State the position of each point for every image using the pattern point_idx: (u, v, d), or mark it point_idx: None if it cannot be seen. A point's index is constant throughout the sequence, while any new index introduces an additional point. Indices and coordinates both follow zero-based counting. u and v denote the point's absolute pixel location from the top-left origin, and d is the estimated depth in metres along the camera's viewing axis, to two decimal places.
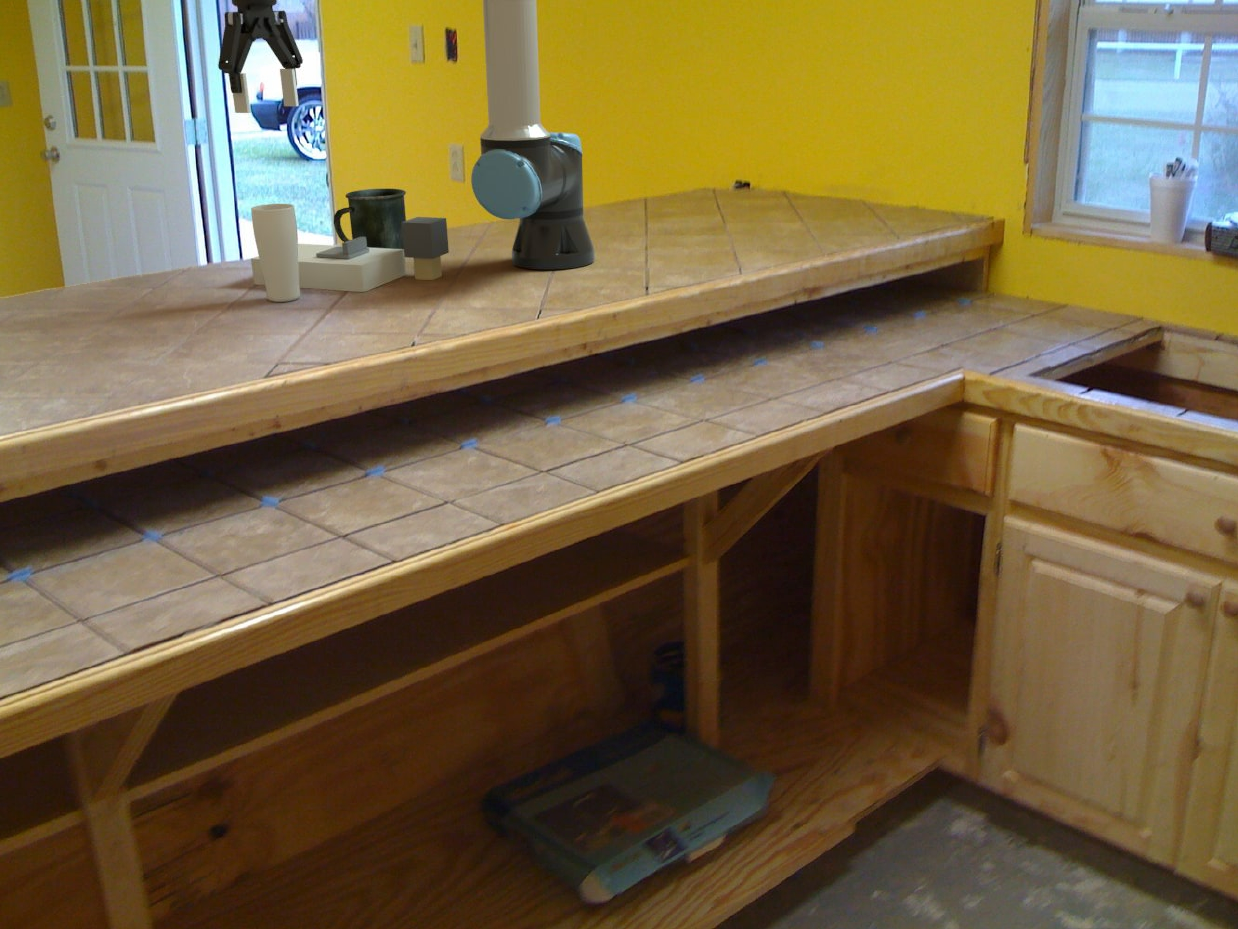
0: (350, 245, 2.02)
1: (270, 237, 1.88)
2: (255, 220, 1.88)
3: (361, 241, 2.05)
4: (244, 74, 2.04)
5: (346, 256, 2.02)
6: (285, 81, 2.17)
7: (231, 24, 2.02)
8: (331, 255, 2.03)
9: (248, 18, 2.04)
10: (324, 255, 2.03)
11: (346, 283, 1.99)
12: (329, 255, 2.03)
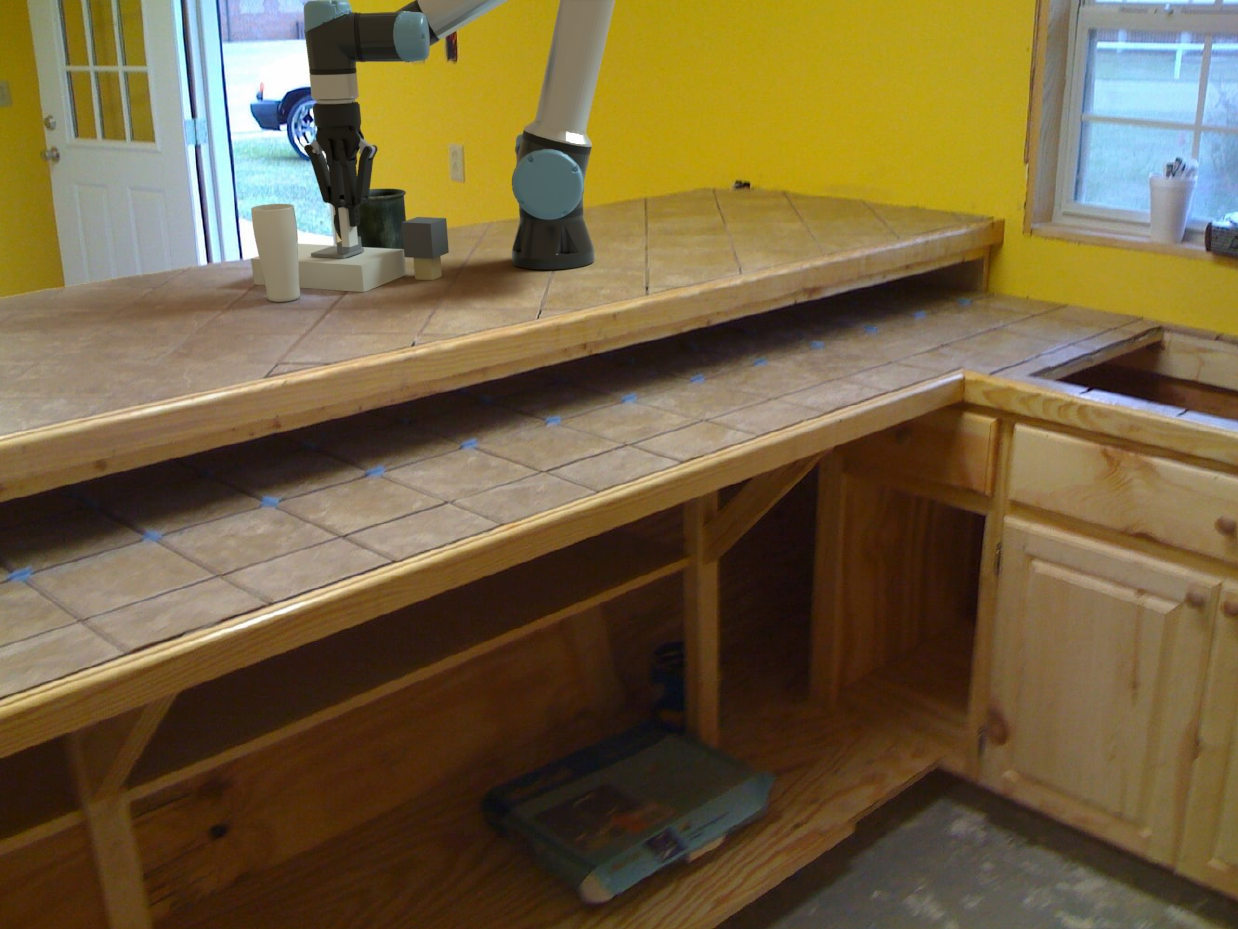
0: None
1: (270, 237, 1.88)
2: (255, 220, 1.88)
3: None
4: (340, 209, 1.99)
5: (341, 256, 2.02)
6: None
7: None
8: (326, 255, 2.03)
9: (319, 140, 1.96)
10: (319, 255, 2.04)
11: (346, 283, 1.99)
12: (324, 255, 2.03)
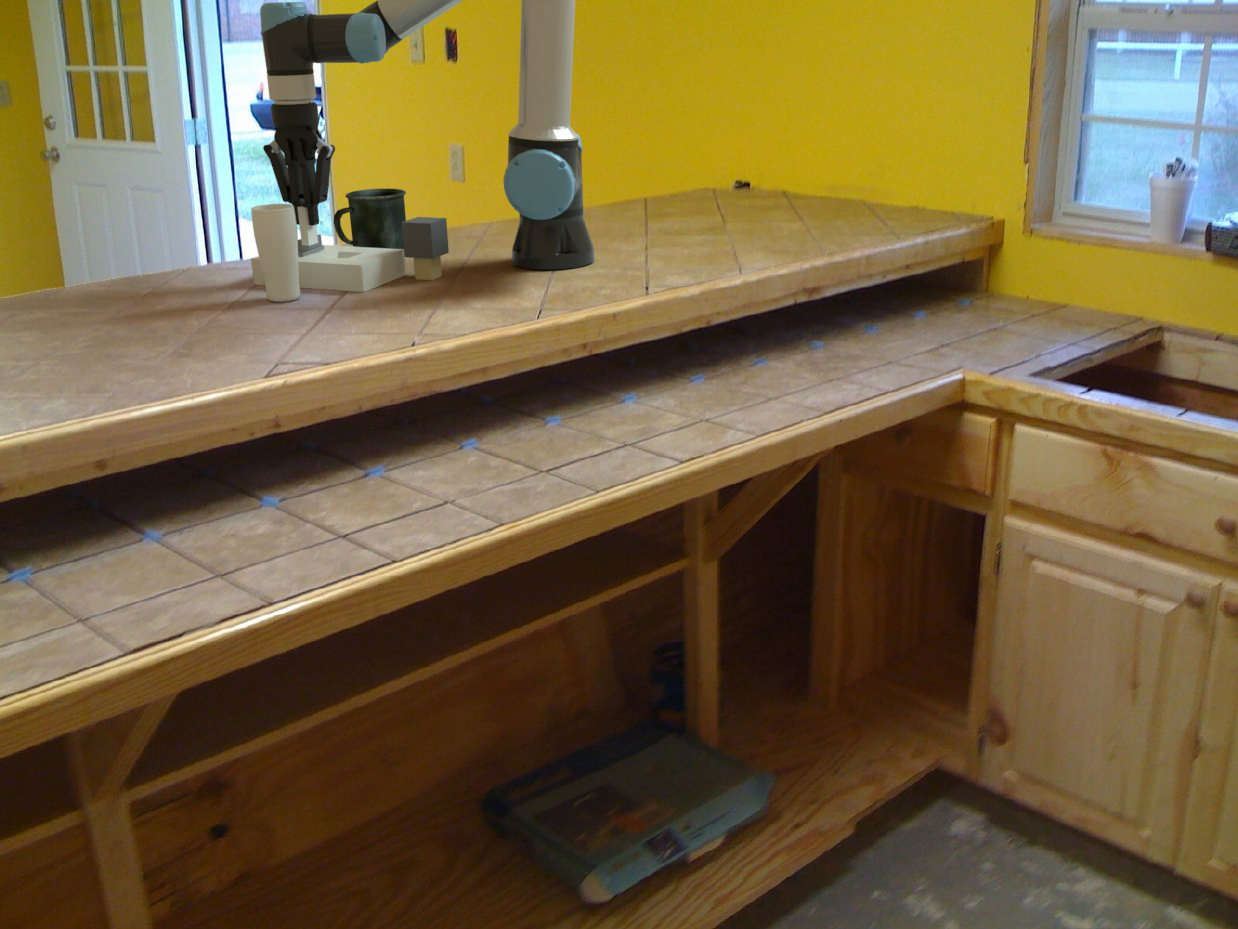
0: None
1: (270, 237, 1.88)
2: (255, 220, 1.88)
3: None
4: (299, 208, 2.02)
5: (300, 253, 2.05)
6: None
7: None
8: None
9: (277, 140, 1.99)
10: None
11: (346, 283, 1.99)
12: None
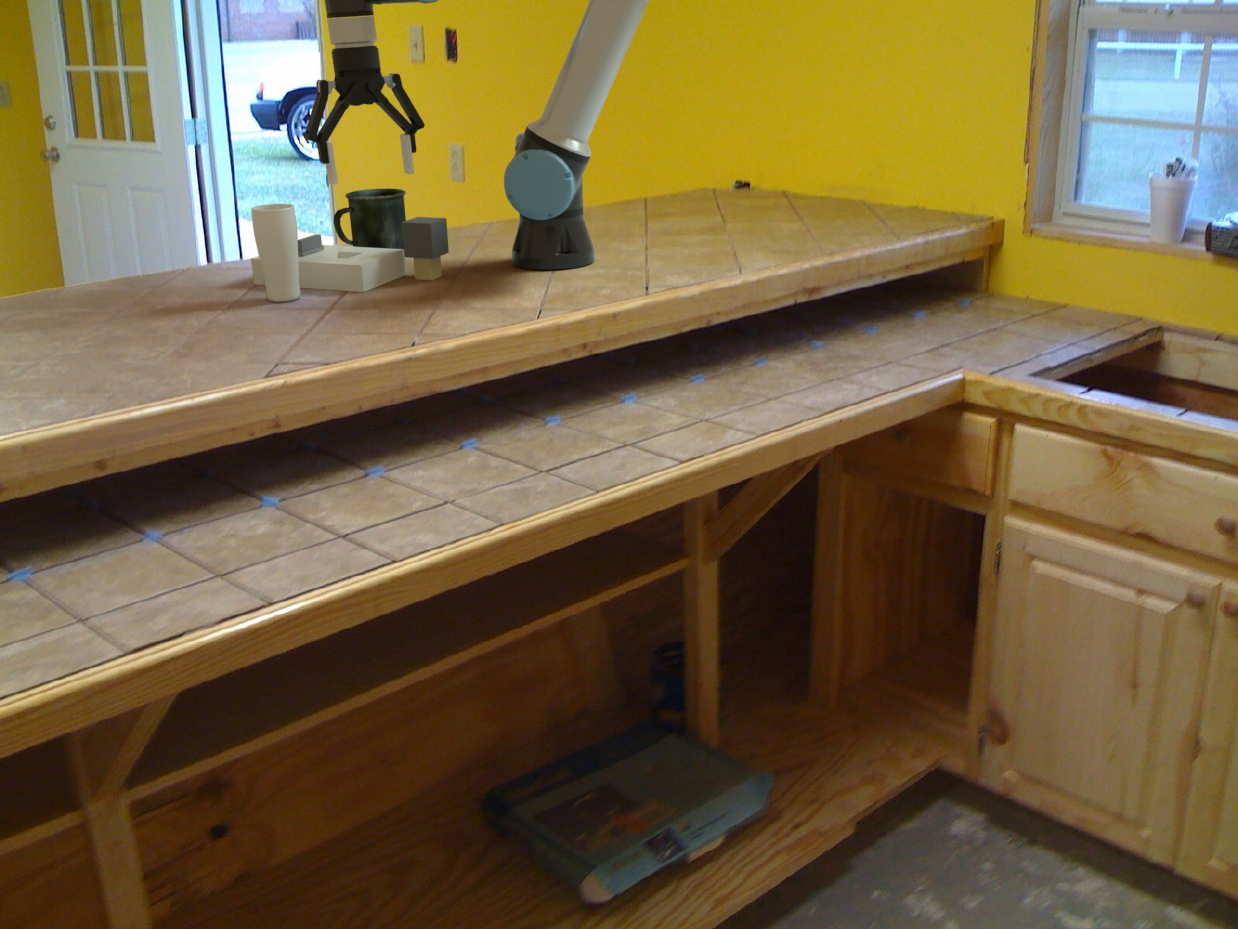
0: (304, 242, 2.05)
1: (270, 237, 1.88)
2: (255, 220, 1.88)
3: (316, 239, 2.08)
4: (330, 144, 1.95)
5: (300, 253, 2.05)
6: (403, 147, 2.03)
7: None
8: None
9: (341, 85, 1.93)
10: None
11: (346, 283, 1.99)
12: None
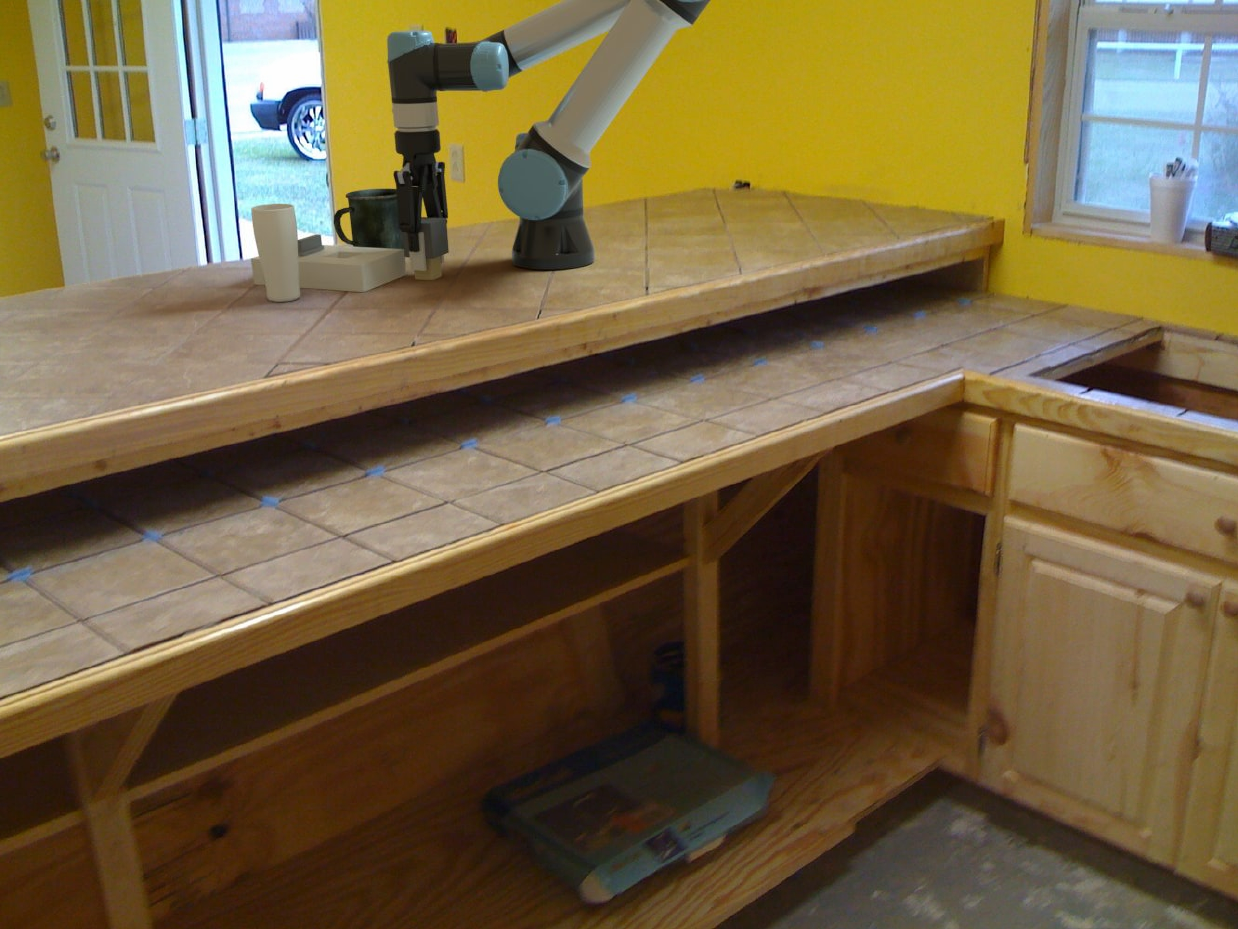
0: (304, 242, 2.05)
1: (270, 237, 1.88)
2: (255, 220, 1.88)
3: (316, 239, 2.08)
4: (422, 233, 2.02)
5: (300, 253, 2.05)
6: None
7: (402, 183, 1.97)
8: None
9: (415, 168, 1.98)
10: None
11: (346, 283, 1.99)
12: None
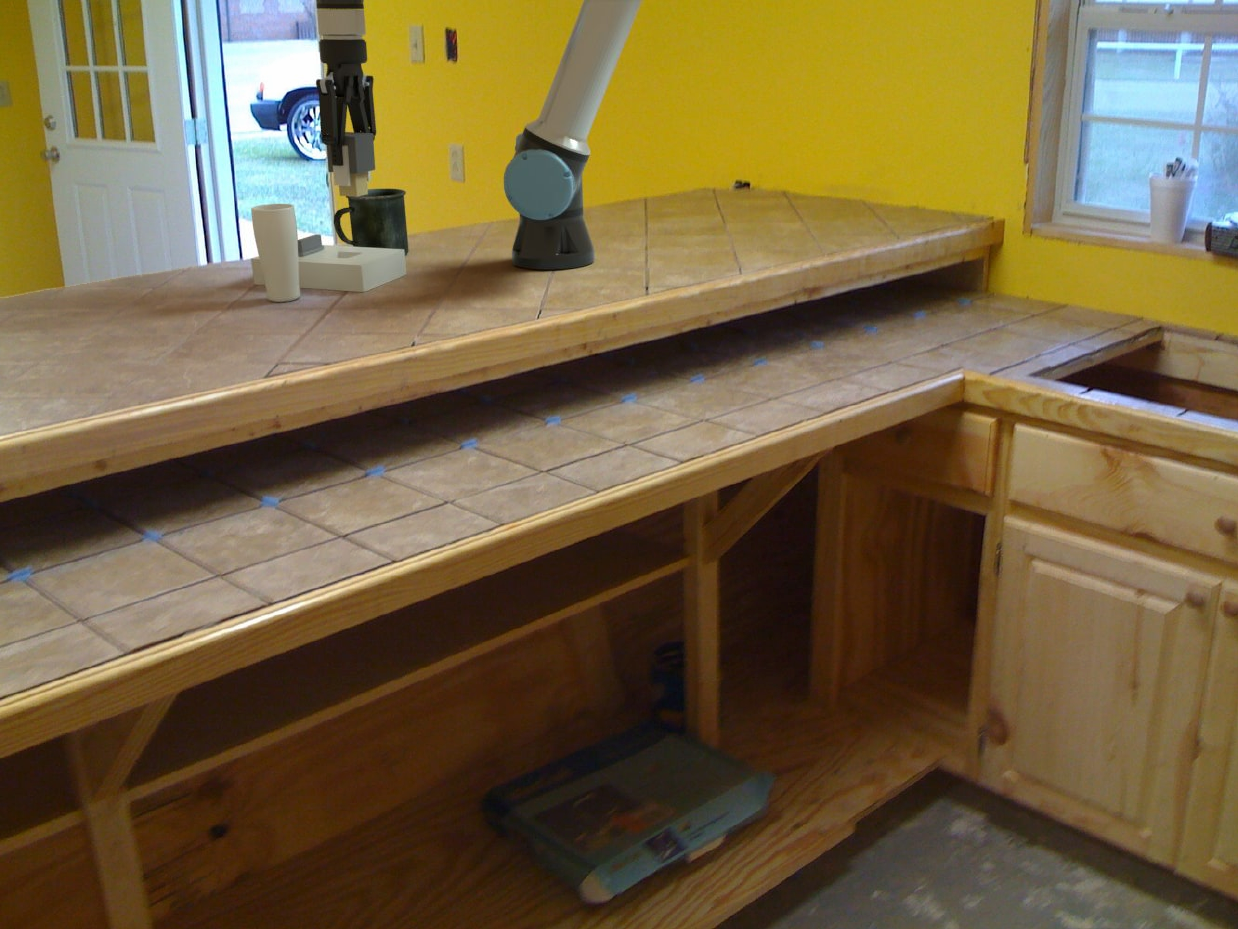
0: (304, 242, 2.05)
1: (270, 237, 1.88)
2: (255, 220, 1.88)
3: (316, 239, 2.08)
4: (346, 146, 1.96)
5: (300, 253, 2.05)
6: None
7: (325, 92, 1.91)
8: None
9: (339, 78, 1.92)
10: None
11: (346, 283, 1.99)
12: None
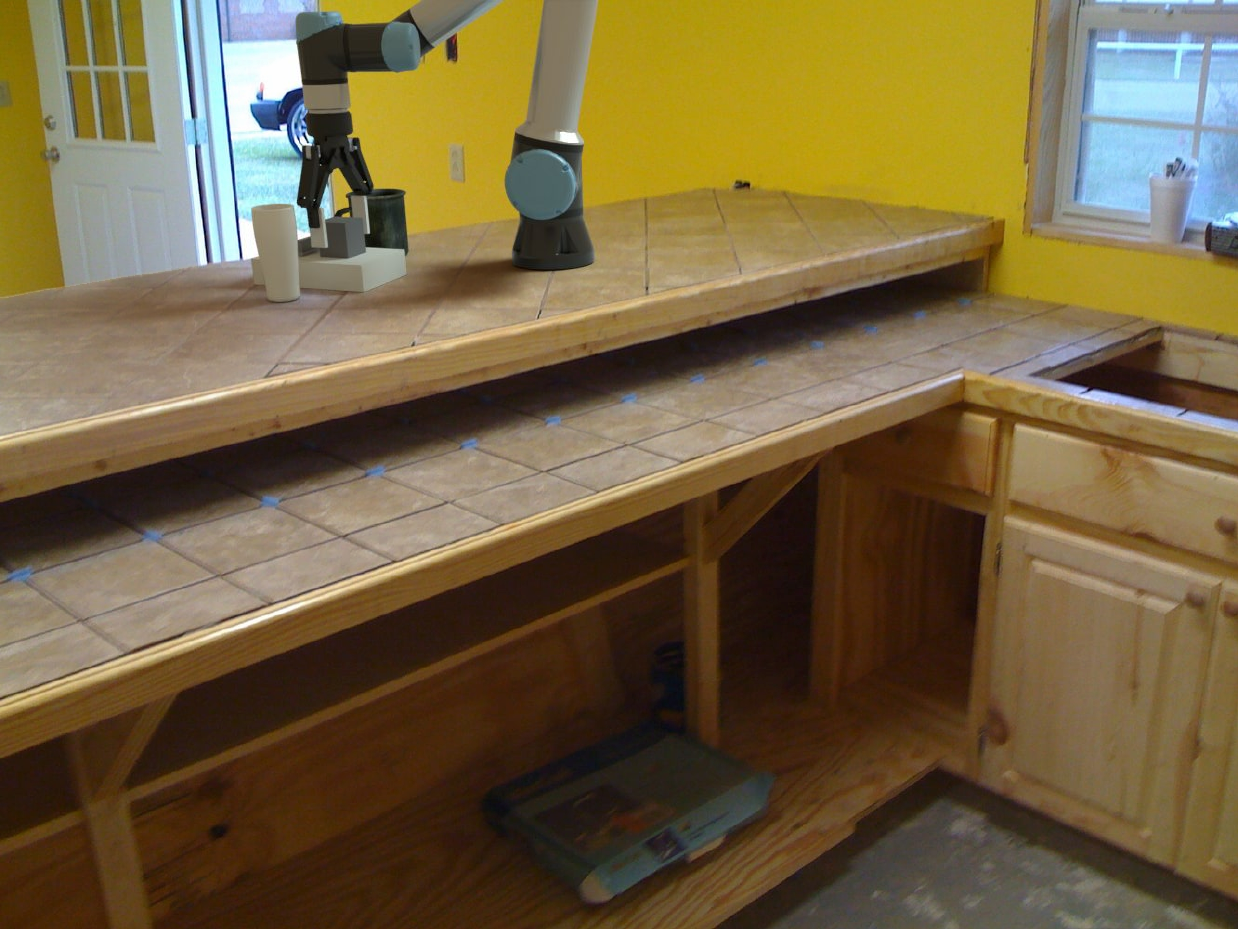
0: (304, 242, 2.05)
1: (270, 237, 1.88)
2: (255, 220, 1.88)
3: None
4: (322, 209, 1.96)
5: (300, 253, 2.05)
6: (356, 208, 2.09)
7: (309, 158, 1.94)
8: None
9: (325, 150, 1.96)
10: None
11: (346, 283, 1.99)
12: None
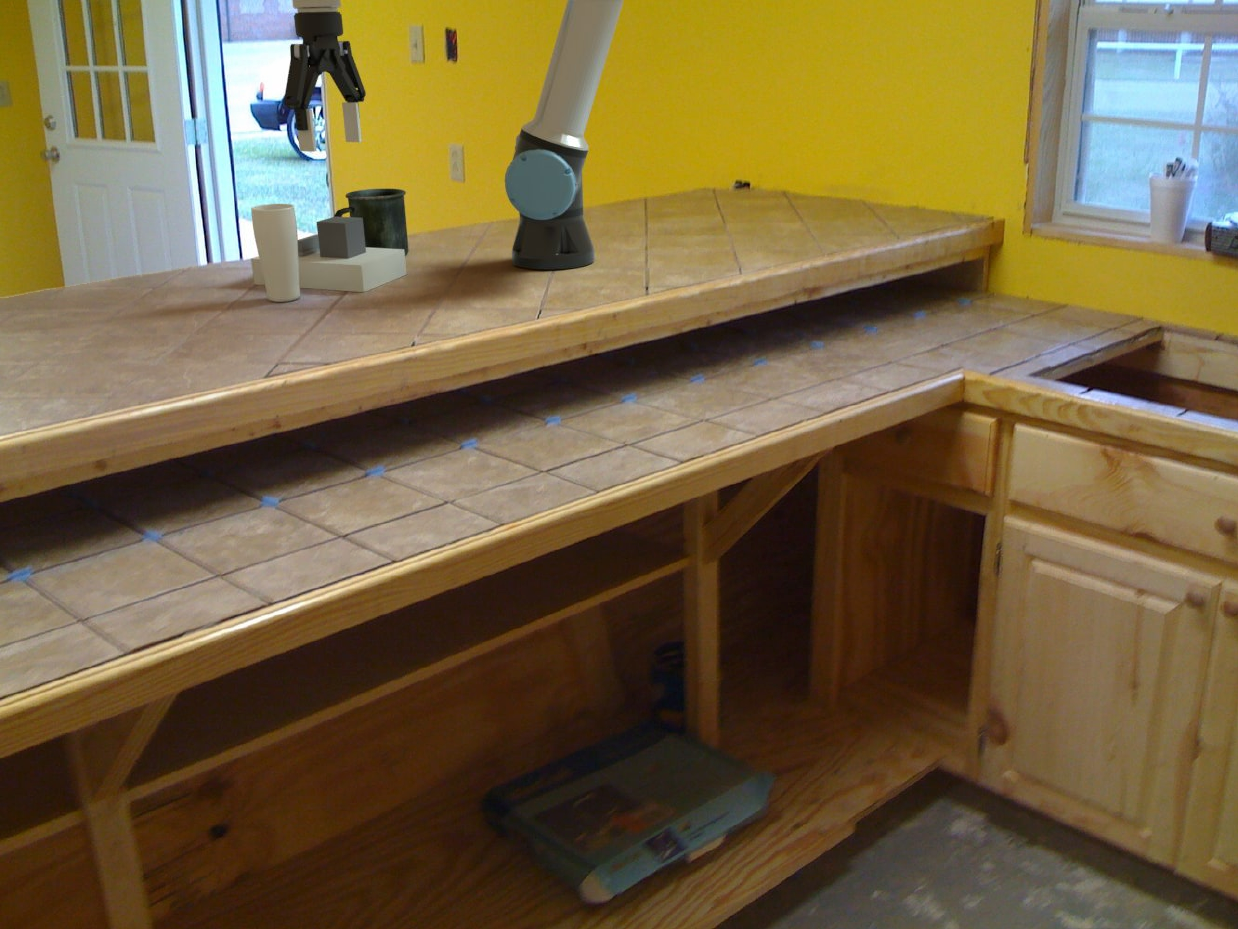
0: (304, 242, 2.05)
1: (270, 237, 1.88)
2: (255, 220, 1.88)
3: (316, 239, 2.08)
4: (310, 110, 1.90)
5: (300, 253, 2.05)
6: (347, 115, 2.03)
7: (297, 57, 1.88)
8: None
9: (314, 50, 1.90)
10: None
11: (346, 283, 1.99)
12: None
